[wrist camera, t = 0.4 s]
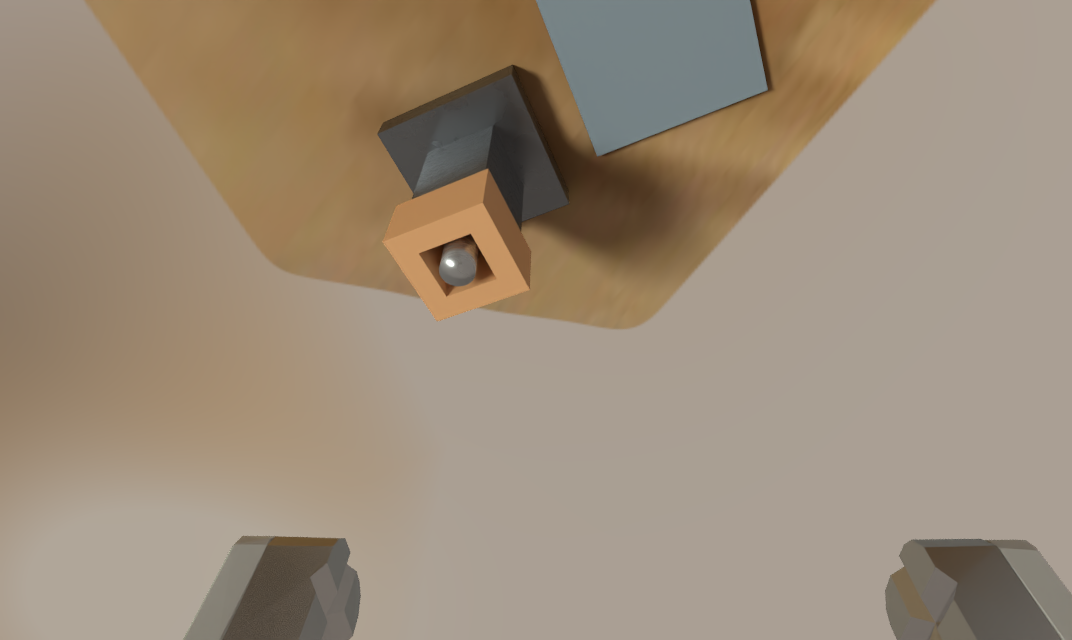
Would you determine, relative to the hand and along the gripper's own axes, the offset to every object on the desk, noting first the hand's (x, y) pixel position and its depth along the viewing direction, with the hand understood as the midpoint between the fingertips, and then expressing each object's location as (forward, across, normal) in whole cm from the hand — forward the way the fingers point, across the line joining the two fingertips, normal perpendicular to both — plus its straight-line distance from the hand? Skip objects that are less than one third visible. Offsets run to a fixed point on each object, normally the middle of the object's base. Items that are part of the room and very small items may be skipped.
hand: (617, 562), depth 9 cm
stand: (+38, +7, +7) cm, 40 cm away
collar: (+29, +7, +8) cm, 30 cm away
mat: (+38, -4, -4) cm, 38 cm away
